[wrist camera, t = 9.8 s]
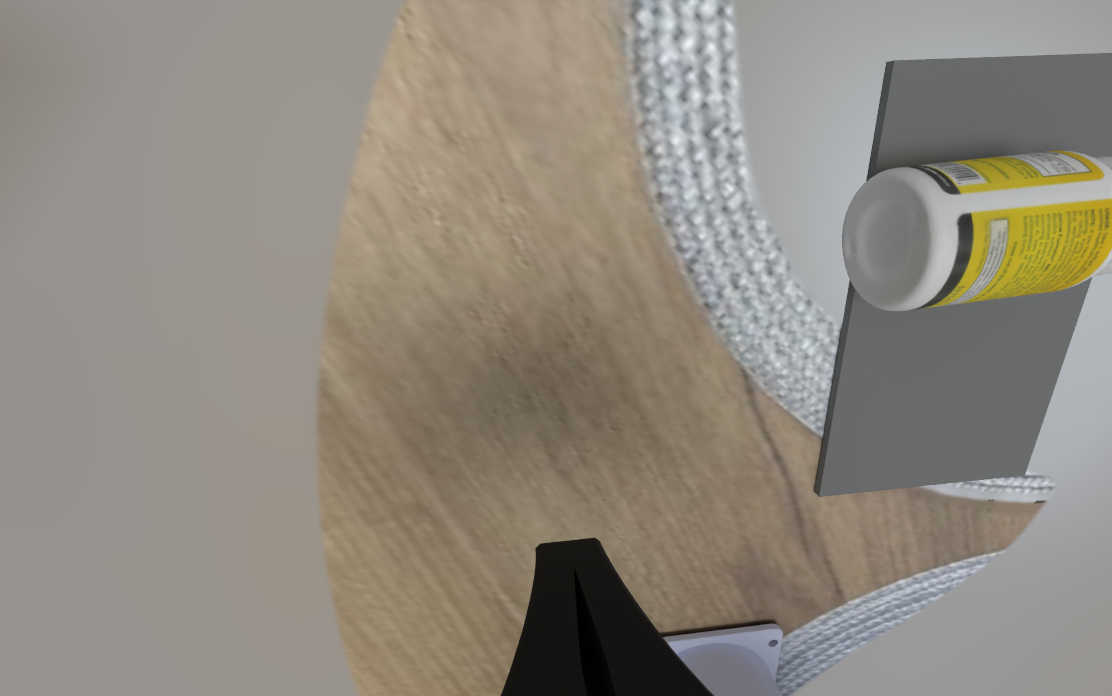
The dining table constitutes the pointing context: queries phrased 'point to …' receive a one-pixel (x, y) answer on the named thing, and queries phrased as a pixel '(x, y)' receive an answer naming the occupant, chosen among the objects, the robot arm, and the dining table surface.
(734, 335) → the dining table surface
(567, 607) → the robot arm
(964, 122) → the mat
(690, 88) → the dining table surface
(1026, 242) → the supplement bottle
